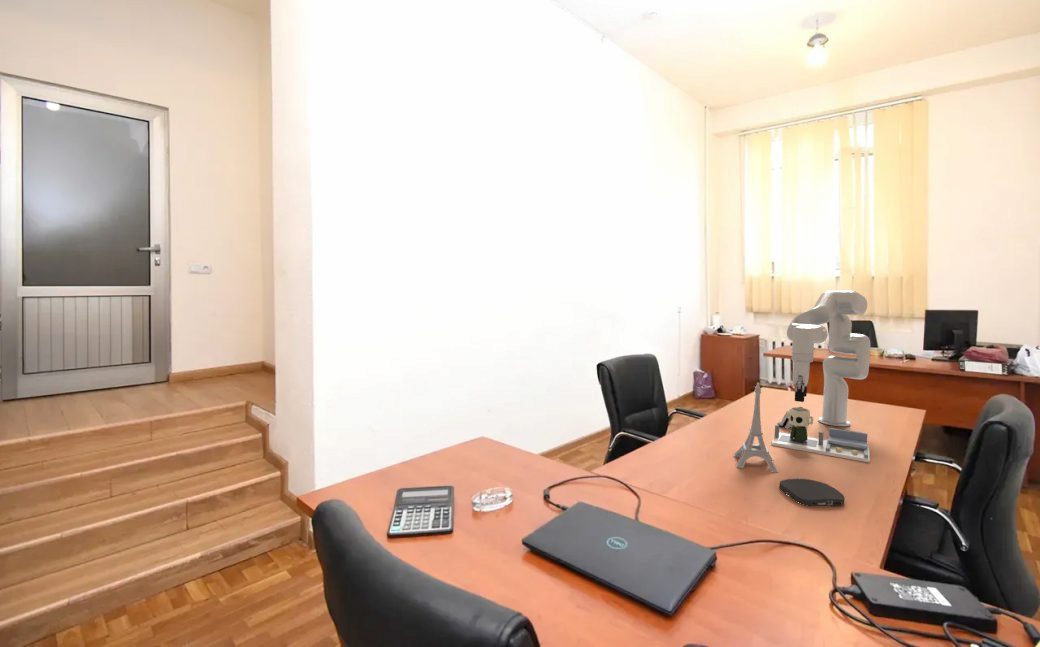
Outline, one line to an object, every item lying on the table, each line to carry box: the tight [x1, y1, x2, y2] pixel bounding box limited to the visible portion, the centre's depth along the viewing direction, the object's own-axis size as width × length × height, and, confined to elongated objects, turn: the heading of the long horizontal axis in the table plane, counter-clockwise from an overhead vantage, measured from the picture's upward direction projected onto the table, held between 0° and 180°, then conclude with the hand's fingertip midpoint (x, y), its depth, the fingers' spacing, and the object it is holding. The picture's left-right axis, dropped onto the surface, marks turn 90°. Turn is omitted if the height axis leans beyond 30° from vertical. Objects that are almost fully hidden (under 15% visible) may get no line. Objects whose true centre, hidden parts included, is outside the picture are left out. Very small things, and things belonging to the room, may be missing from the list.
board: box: [771, 424, 870, 463], centre depth 190 cm, size 16×32×6 cm, turn 54°
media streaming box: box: [778, 478, 845, 507], centre depth 147 cm, size 15×15×3 cm
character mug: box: [786, 406, 814, 441], centre depth 194 cm, size 11×7×13 cm, turn 28°
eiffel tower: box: [733, 382, 779, 473], centre depth 172 cm, size 13×13×30 cm
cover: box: [827, 427, 869, 449], centre depth 187 cm, size 8×12×4 cm, turn 54°
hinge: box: [776, 405, 804, 430], centre depth 220 cm, size 17×5×10 cm, turn 127°
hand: (800, 398), depth 193 cm, fingers open, 9 cm apart
